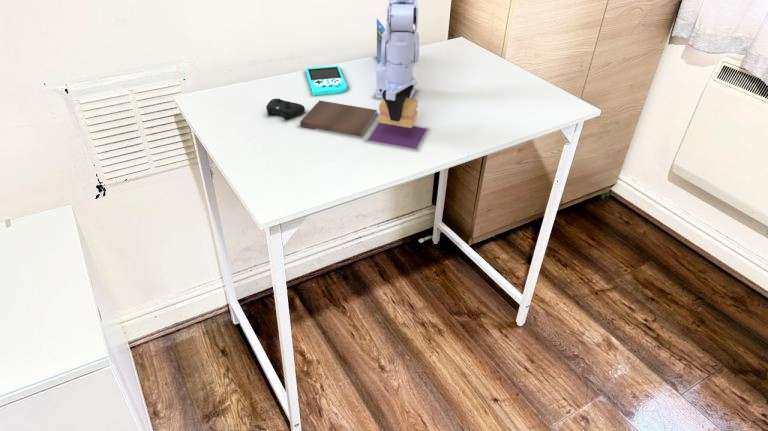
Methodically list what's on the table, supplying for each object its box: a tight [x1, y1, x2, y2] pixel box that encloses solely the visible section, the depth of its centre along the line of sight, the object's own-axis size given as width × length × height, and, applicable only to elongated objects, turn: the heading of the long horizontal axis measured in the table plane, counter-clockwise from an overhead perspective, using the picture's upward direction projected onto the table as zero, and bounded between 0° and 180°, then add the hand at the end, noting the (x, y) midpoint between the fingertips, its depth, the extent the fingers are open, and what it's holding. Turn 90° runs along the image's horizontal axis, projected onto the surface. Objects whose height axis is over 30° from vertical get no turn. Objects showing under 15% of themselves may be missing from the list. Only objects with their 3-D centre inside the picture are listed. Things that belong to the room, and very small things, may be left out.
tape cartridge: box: [376, 18, 387, 62], centre depth 158 cm, size 9×4×12 cm, turn 17°
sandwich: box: [378, 97, 419, 128], centre depth 124 cm, size 8×5×5 cm, turn 72°
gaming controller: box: [265, 98, 306, 121], centre depth 135 cm, size 10×5×6 cm
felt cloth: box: [367, 122, 427, 150], centre depth 128 cm, size 12×10×1 cm
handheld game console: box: [305, 65, 348, 96], centre depth 150 cm, size 10×16×1 cm, turn 14°
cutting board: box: [300, 100, 378, 138], centre depth 132 cm, size 16×12×2 cm
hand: (398, 114), depth 124 cm, fingers closed on sandwich, 5 cm apart
